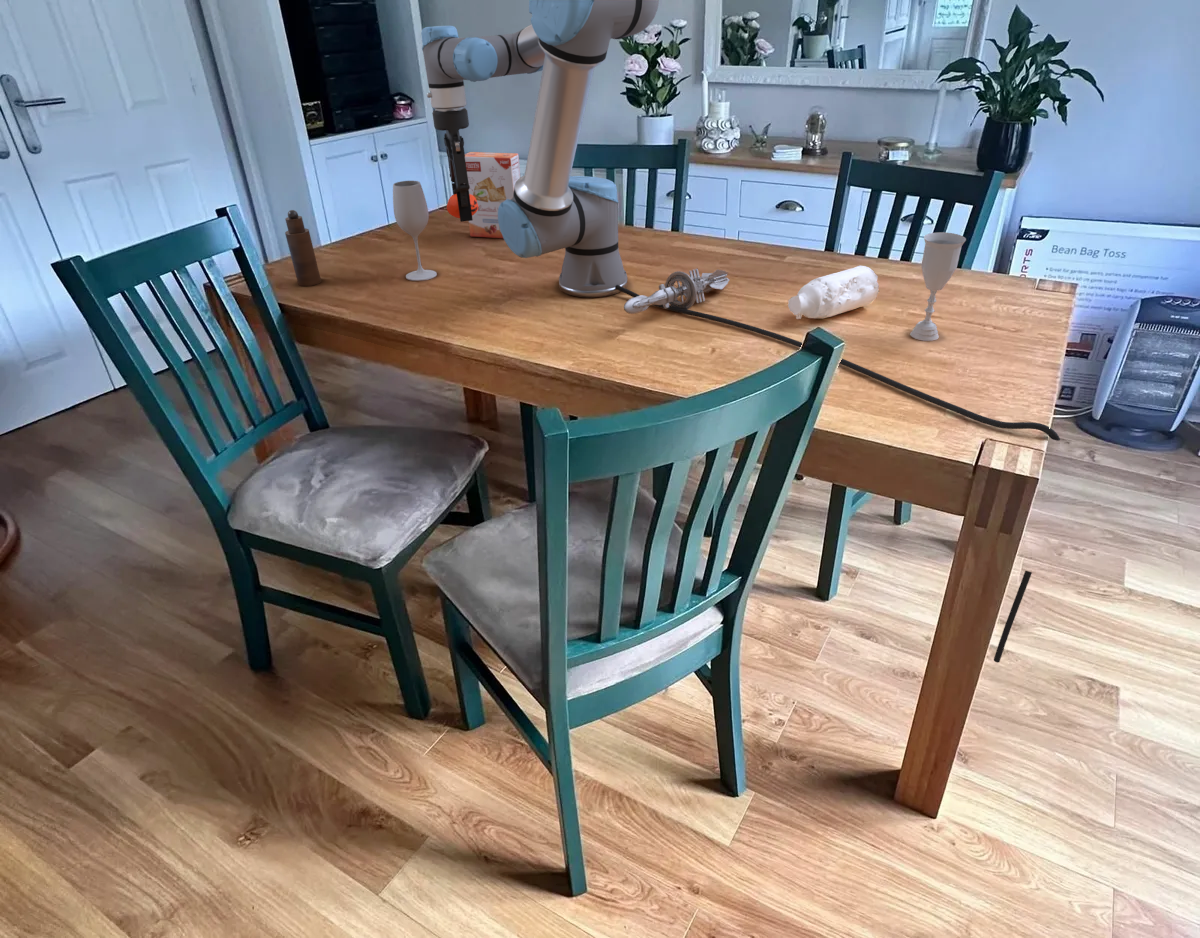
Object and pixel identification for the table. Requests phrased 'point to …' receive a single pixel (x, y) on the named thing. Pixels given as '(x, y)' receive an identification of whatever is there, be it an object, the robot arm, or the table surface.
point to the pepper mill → (301, 251)
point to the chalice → (937, 275)
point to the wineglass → (412, 219)
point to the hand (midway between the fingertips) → (464, 216)
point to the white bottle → (835, 293)
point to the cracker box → (490, 188)
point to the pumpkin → (454, 209)
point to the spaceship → (679, 291)
